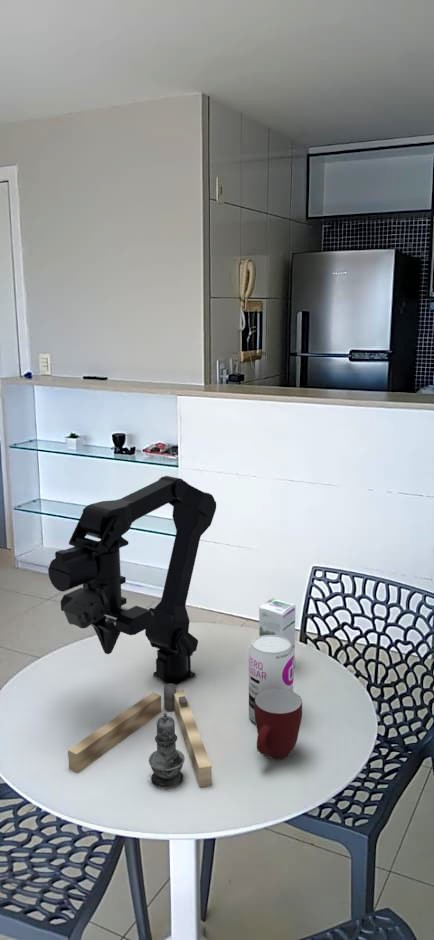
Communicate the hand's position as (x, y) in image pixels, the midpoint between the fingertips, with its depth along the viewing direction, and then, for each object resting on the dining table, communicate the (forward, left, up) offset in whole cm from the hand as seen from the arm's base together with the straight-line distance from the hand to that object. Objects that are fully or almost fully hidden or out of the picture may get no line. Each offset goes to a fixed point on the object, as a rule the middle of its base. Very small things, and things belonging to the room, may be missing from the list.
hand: (108, 653), depth 136 cm
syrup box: (-36, +9, -13) cm, 39 cm away
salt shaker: (+4, +22, -13) cm, 26 cm away
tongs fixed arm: (-5, +16, -12) cm, 21 cm away
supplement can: (-22, +21, -13) cm, 33 cm away
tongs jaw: (+3, +8, -12) cm, 15 cm away
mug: (-14, +30, -13) cm, 35 cm away
